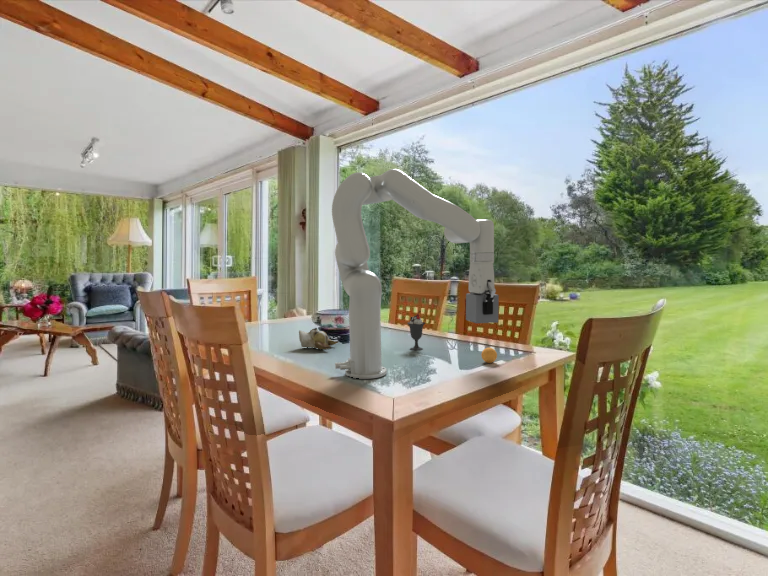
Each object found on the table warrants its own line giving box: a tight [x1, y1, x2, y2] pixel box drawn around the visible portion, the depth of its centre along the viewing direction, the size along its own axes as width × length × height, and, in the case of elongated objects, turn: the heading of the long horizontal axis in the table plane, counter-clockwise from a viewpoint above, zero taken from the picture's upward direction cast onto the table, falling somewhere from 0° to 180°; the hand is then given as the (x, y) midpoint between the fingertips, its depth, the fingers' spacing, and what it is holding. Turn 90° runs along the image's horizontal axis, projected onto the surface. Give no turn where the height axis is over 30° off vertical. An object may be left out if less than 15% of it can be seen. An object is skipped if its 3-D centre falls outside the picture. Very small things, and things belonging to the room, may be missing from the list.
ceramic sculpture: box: [298, 327, 340, 350], centre depth 169 cm, size 11×9×15 cm
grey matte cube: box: [465, 292, 500, 324], centre depth 141 cm, size 8×8×9 cm
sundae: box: [407, 310, 426, 351], centre depth 165 cm, size 7×7×15 cm
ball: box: [480, 347, 498, 364], centre depth 143 cm, size 5×5×5 cm
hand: (481, 312), depth 141 cm, fingers closed on grey matte cube, 7 cm apart
